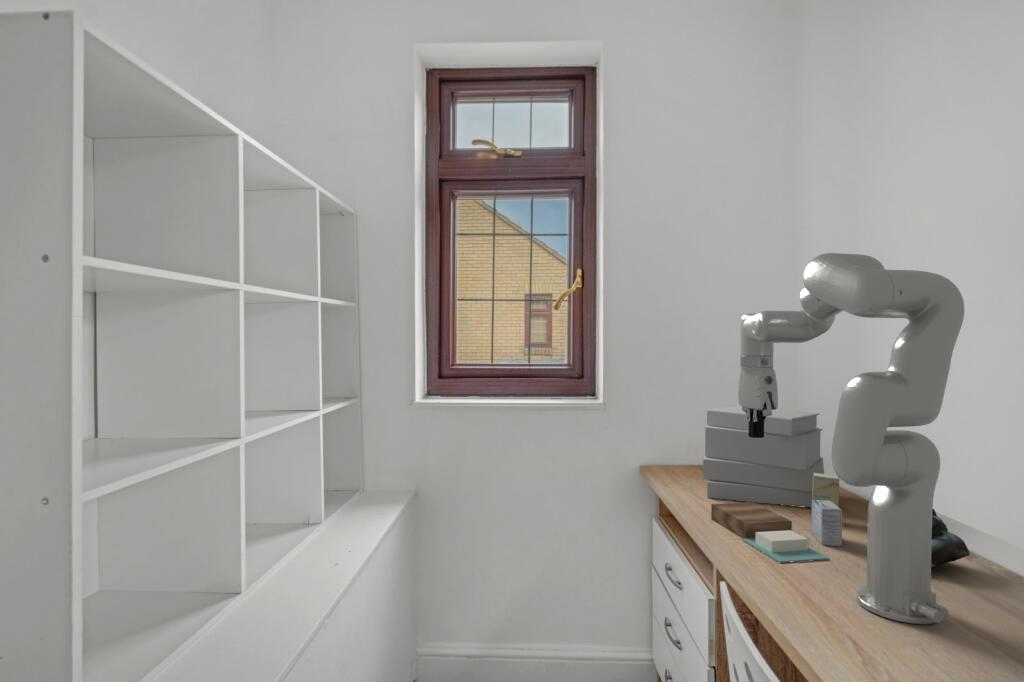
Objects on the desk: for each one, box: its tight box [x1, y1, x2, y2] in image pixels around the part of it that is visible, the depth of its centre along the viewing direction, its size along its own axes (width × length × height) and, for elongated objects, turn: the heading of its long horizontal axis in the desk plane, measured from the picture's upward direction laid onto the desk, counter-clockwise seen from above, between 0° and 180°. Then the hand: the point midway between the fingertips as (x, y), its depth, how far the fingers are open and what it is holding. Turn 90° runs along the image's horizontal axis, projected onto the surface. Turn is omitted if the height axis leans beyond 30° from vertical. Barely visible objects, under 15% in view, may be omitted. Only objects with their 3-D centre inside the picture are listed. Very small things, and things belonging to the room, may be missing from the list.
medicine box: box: [811, 500, 843, 547], centre depth 138 cm, size 8×4×9 cm, turn 168°
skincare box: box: [811, 473, 840, 521], centre depth 153 cm, size 6×4×12 cm
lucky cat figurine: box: [931, 508, 971, 568], centre depth 126 cm, size 15×12×14 cm
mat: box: [741, 538, 830, 564], centre depth 132 cm, size 14×12×1 cm
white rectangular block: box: [755, 530, 809, 552], centre depth 133 cm, size 6×9×2 cm, turn 100°
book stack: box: [702, 404, 825, 508], centre depth 179 cm, size 30×35×26 cm
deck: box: [710, 502, 793, 539], centre depth 147 cm, size 16×12×4 cm
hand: (756, 437), depth 144 cm, fingers closed
